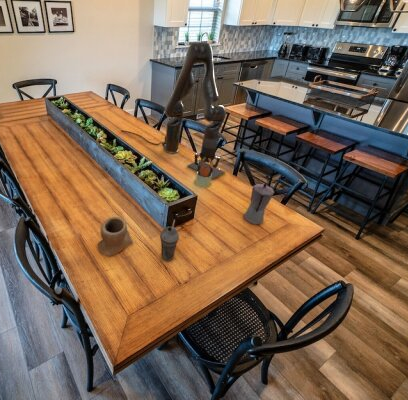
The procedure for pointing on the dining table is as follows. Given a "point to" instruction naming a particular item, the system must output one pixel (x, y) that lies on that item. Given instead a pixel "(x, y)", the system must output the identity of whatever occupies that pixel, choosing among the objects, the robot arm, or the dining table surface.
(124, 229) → the stone cup
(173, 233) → the beverage cup
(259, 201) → the moka pot
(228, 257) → the dining table surface
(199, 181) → the cup
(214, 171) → the slate board
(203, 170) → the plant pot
